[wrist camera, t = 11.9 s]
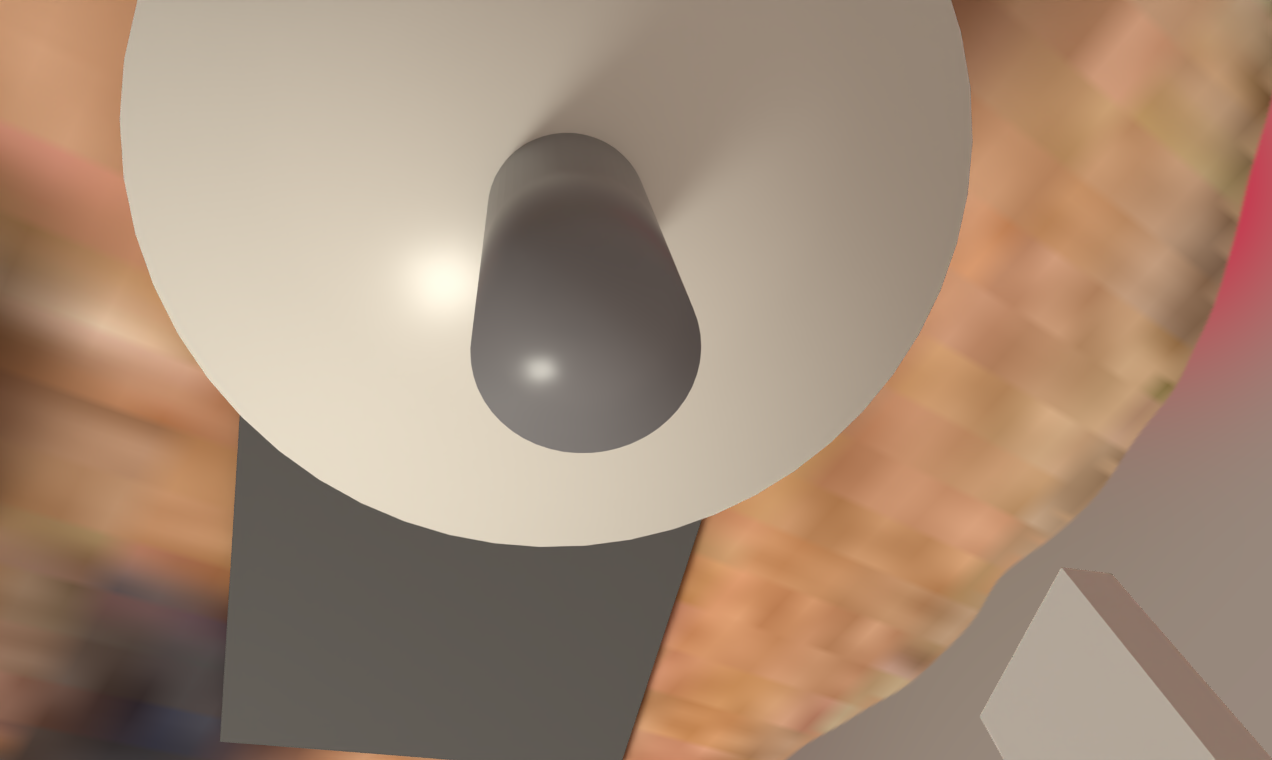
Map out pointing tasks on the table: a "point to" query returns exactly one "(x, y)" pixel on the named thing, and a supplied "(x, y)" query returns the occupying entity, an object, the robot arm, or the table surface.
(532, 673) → the mat
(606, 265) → the lid
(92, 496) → the table surface
